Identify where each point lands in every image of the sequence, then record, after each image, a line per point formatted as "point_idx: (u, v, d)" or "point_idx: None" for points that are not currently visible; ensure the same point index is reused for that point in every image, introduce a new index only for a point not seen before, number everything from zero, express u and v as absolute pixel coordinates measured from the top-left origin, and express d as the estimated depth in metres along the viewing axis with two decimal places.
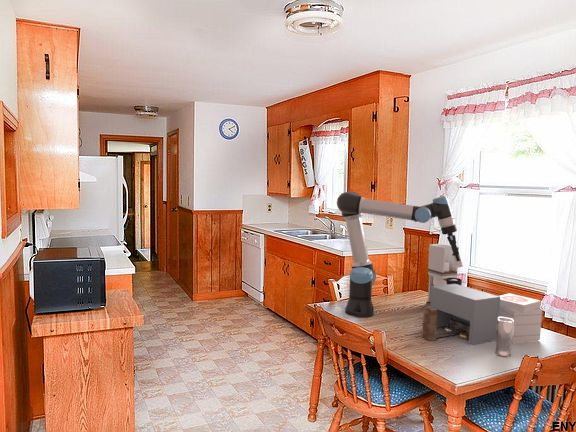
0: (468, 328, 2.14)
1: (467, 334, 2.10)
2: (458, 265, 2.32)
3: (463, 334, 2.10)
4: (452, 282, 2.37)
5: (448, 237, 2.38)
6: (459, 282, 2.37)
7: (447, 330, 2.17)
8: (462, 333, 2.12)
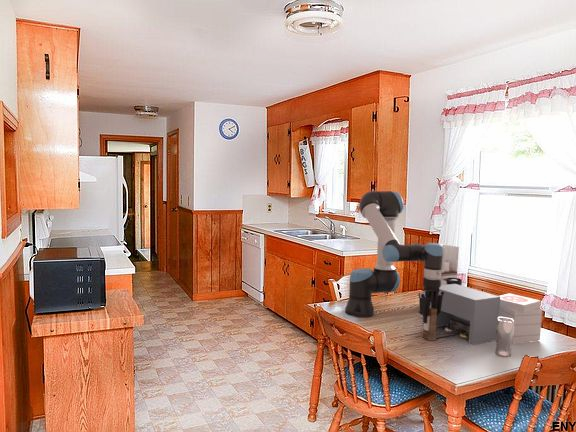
0: (468, 328, 2.14)
1: (467, 334, 2.11)
2: (424, 327, 2.05)
3: (463, 334, 2.10)
4: (452, 282, 2.37)
5: None
6: (459, 282, 2.37)
7: (447, 330, 2.17)
8: (462, 333, 2.11)
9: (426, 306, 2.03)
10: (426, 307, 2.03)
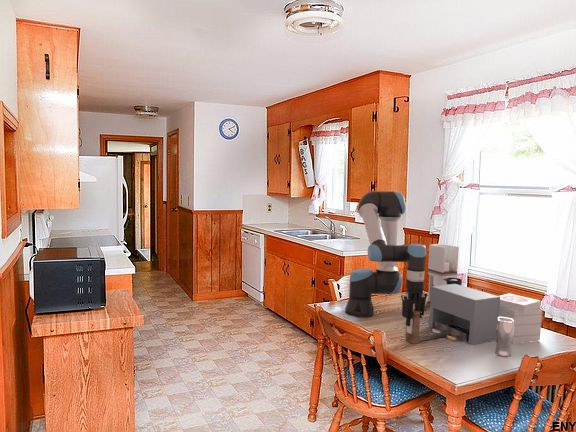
0: (453, 331, 2.10)
1: (455, 336, 2.07)
2: (407, 330, 2.01)
3: (451, 336, 2.06)
4: (452, 282, 2.37)
5: None
6: (459, 282, 2.37)
7: (434, 332, 2.13)
8: (449, 335, 2.08)
9: (409, 308, 1.99)
10: (409, 309, 1.99)
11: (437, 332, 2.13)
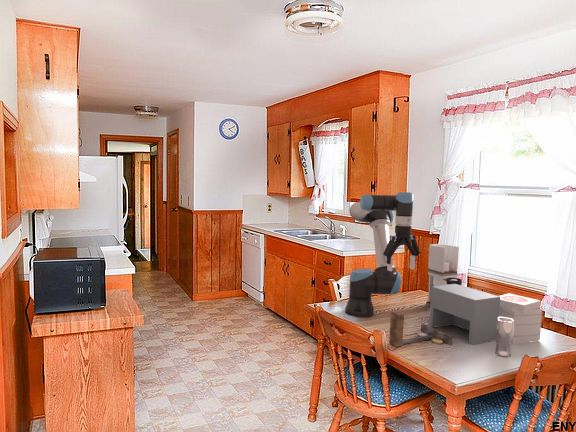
0: (438, 333, 2.06)
1: (440, 339, 2.03)
2: (388, 268, 2.13)
3: (436, 340, 2.02)
4: (452, 282, 2.37)
5: None
6: (459, 282, 2.37)
7: (420, 335, 2.09)
8: (434, 338, 2.04)
9: (393, 248, 2.12)
10: (392, 249, 2.12)
11: (423, 335, 2.08)
